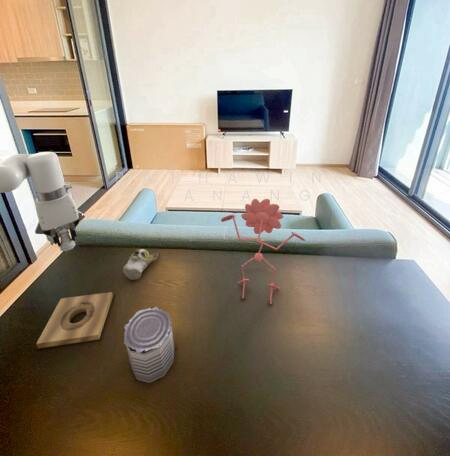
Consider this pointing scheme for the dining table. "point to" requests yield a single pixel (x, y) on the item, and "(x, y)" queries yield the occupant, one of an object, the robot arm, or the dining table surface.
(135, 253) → the ceramic sculpture
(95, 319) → the wooden board with hole
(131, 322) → the can
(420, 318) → the dining table surface
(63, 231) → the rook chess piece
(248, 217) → the figurine
